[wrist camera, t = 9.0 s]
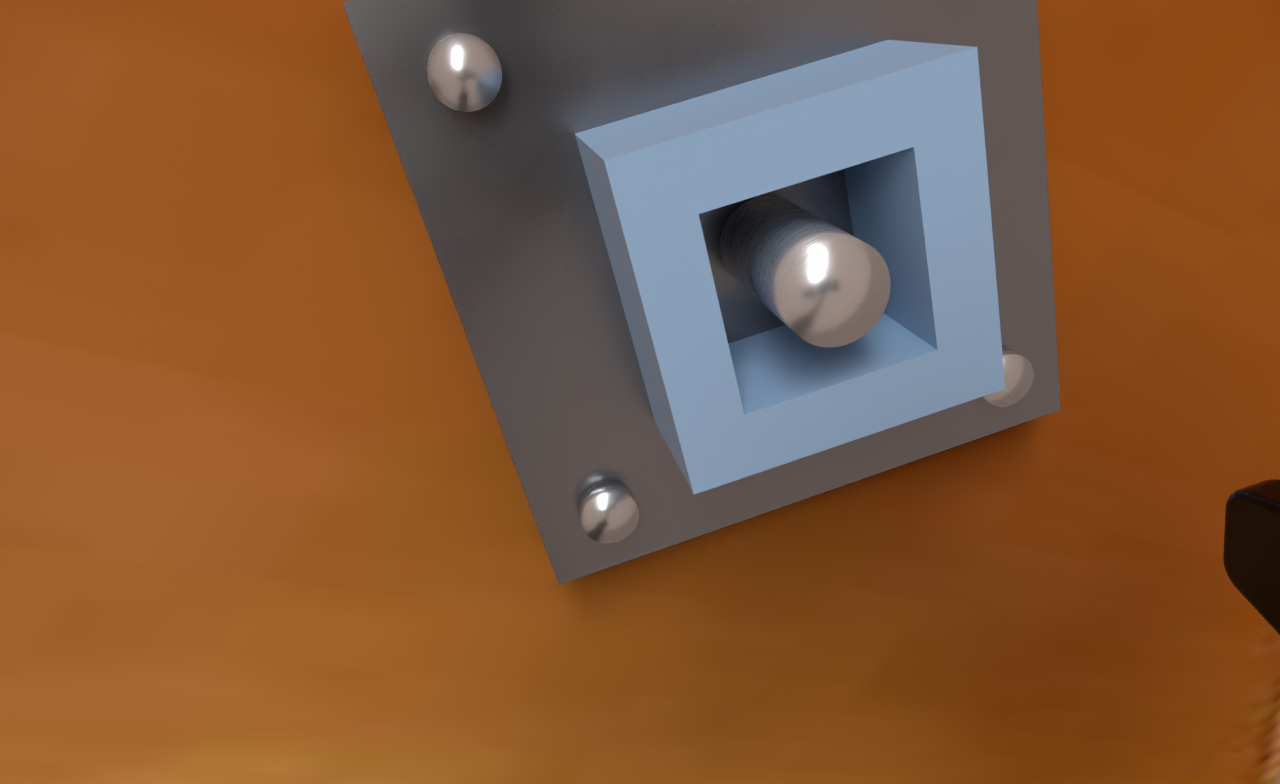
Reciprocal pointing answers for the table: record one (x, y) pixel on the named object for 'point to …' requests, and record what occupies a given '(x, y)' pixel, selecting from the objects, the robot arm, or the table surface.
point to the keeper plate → (734, 234)
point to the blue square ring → (881, 216)
